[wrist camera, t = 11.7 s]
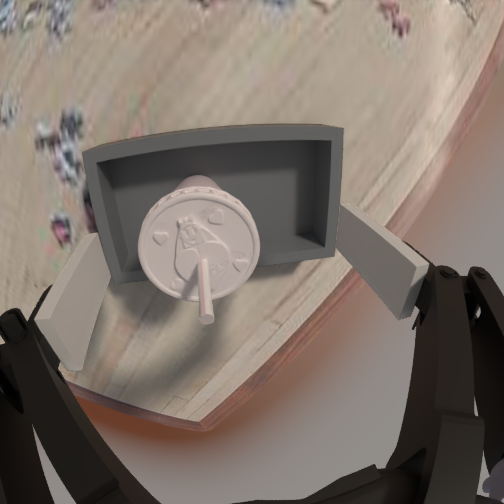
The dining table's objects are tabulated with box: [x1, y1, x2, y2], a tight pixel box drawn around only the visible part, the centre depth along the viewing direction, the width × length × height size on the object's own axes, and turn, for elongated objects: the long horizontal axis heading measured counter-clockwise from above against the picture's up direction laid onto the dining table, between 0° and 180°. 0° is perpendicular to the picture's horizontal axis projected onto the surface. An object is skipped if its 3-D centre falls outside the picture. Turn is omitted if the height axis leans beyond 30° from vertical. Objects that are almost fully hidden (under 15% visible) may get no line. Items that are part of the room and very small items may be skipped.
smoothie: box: [138, 175, 260, 324], centre depth 16 cm, size 6×6×14 cm
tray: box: [82, 124, 344, 284], centre depth 22 cm, size 11×19×4 cm, turn 92°
